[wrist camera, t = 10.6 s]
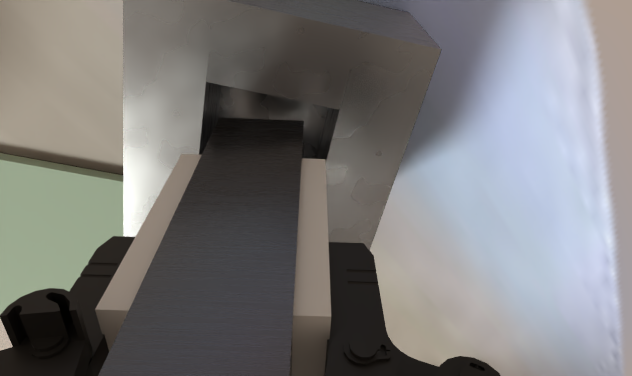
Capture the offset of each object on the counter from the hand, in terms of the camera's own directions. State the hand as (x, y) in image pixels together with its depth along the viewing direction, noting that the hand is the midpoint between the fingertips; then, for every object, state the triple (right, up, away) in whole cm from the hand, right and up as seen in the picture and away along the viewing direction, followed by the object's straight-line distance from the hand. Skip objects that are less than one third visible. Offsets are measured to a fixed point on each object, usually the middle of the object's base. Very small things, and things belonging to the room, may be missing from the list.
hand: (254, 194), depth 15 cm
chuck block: (0, +5, +7) cm, 8 cm away
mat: (-12, -4, +12) cm, 18 cm away
